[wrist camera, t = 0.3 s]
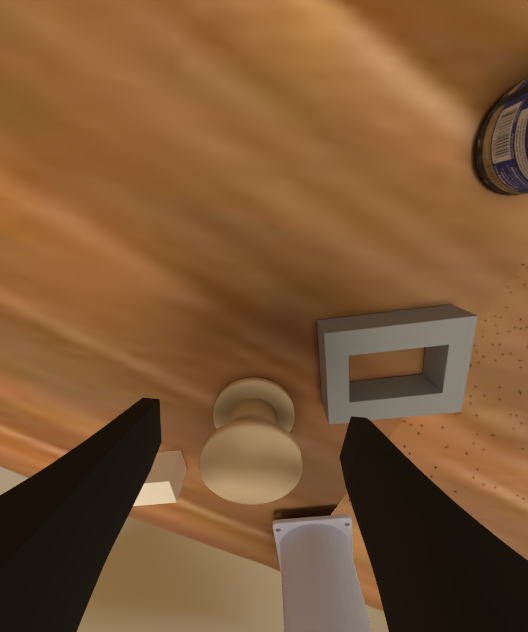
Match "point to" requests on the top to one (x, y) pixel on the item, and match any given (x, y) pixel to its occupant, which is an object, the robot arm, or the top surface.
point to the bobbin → (252, 443)
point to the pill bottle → (506, 143)
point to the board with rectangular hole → (390, 335)
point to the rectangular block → (163, 479)
